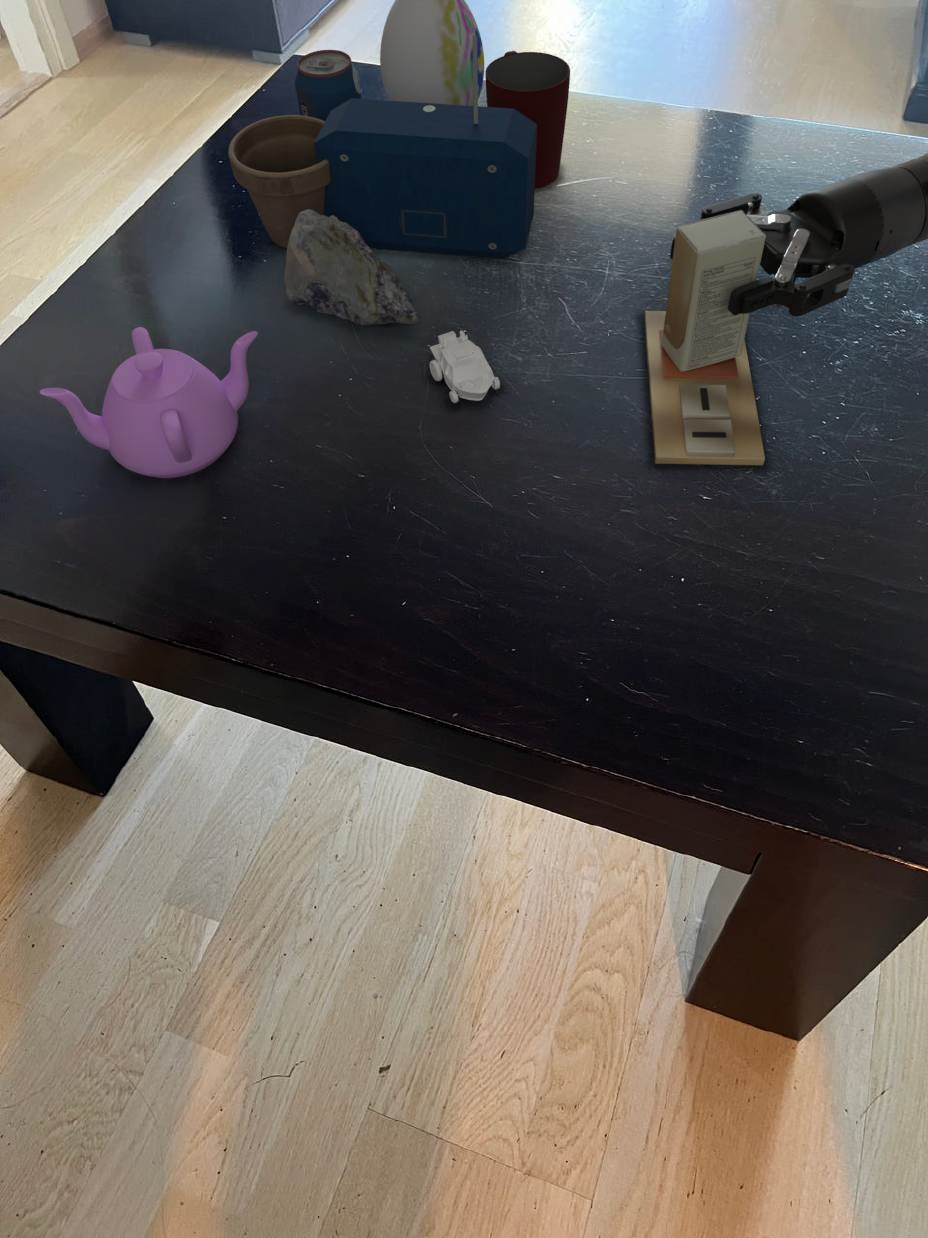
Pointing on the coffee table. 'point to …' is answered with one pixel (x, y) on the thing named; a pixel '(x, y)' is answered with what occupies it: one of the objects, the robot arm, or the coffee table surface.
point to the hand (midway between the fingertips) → (701, 276)
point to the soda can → (325, 82)
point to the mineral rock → (342, 274)
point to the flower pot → (281, 170)
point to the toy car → (462, 367)
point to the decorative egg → (430, 52)
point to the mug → (534, 101)
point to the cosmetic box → (709, 289)
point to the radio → (431, 175)
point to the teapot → (164, 409)
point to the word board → (701, 407)
